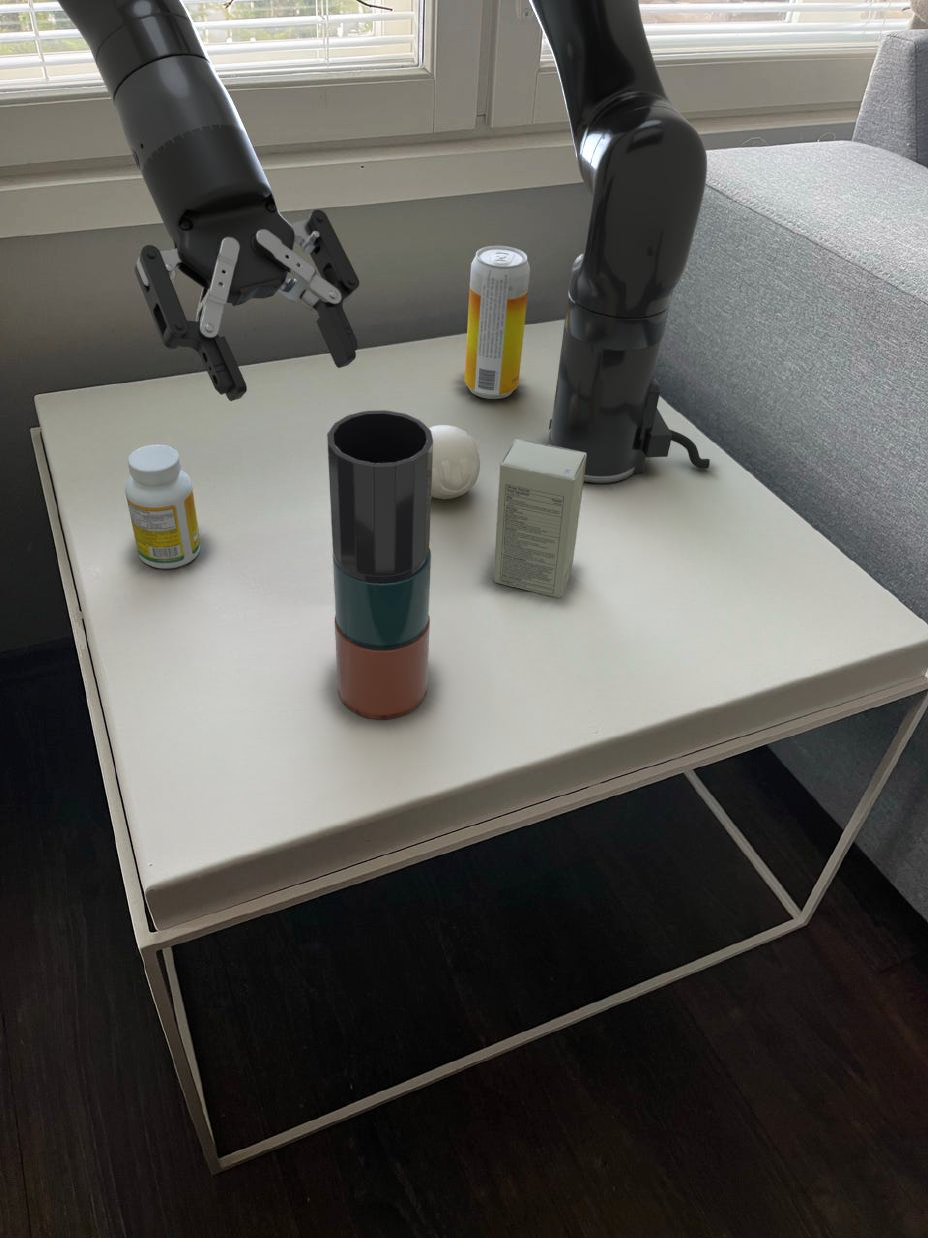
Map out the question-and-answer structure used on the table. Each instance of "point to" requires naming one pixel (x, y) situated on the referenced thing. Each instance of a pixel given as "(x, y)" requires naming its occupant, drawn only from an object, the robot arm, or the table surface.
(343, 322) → the robot arm
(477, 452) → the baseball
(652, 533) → the table surface
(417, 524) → the cup
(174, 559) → the supplement bottle
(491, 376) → the beer can
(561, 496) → the cosmetic box
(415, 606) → the teal and red cylinder
